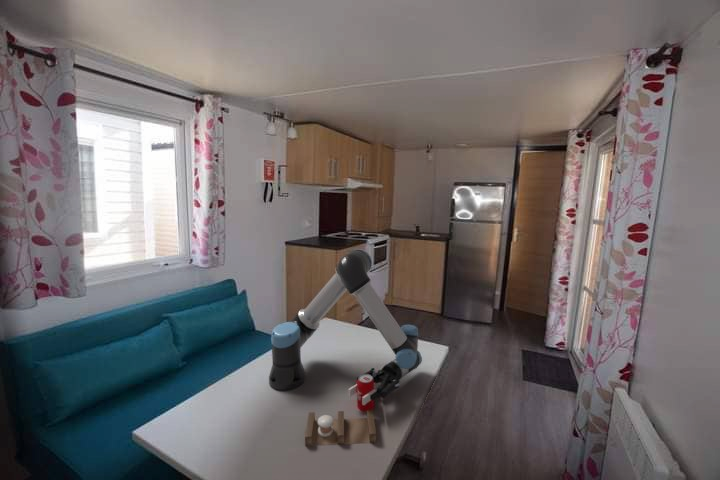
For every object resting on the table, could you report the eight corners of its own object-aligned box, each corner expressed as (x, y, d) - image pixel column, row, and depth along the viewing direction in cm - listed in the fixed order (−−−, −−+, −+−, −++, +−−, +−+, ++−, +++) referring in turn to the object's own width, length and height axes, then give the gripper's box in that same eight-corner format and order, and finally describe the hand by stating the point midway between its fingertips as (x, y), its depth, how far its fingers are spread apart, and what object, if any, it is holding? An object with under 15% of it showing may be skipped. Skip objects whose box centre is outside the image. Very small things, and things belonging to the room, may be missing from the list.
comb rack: (305, 448, 96) (304, 436, 96) (309, 423, 107) (308, 412, 106) (376, 445, 97) (376, 433, 97) (372, 420, 108) (372, 409, 108)
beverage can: (364, 400, 119) (364, 371, 117) (377, 407, 115) (377, 377, 113) (353, 409, 114) (353, 378, 112) (367, 416, 110) (367, 385, 109)
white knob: (317, 437, 99) (317, 426, 99) (318, 426, 104) (318, 415, 104) (333, 437, 99) (332, 425, 99) (333, 425, 104) (333, 414, 104)
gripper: (414, 388, 121) (376, 419, 104) (376, 370, 134) (337, 395, 117) (415, 370, 120) (376, 399, 103) (377, 354, 133) (337, 376, 116)
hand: (355, 397), depth 110 cm, fingers closed on beverage can, 6 cm apart
